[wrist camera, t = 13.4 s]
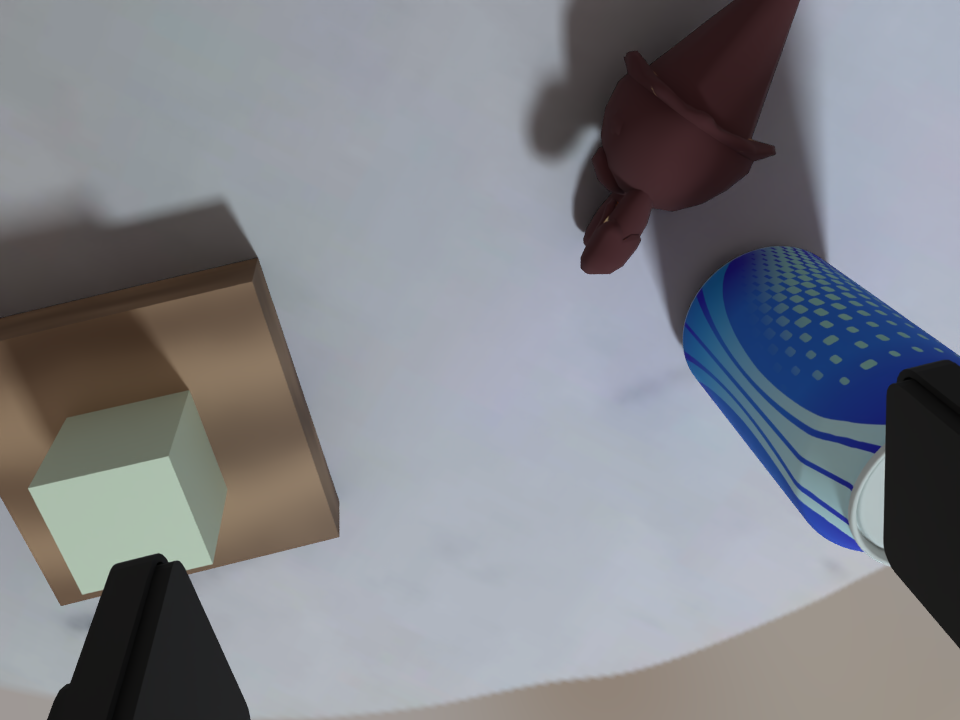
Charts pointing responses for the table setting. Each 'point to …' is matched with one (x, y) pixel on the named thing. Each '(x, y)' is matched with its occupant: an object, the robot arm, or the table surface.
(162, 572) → the robot arm
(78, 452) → the sage cube
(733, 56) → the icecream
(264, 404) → the walnut base
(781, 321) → the beer can
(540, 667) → the table surface
